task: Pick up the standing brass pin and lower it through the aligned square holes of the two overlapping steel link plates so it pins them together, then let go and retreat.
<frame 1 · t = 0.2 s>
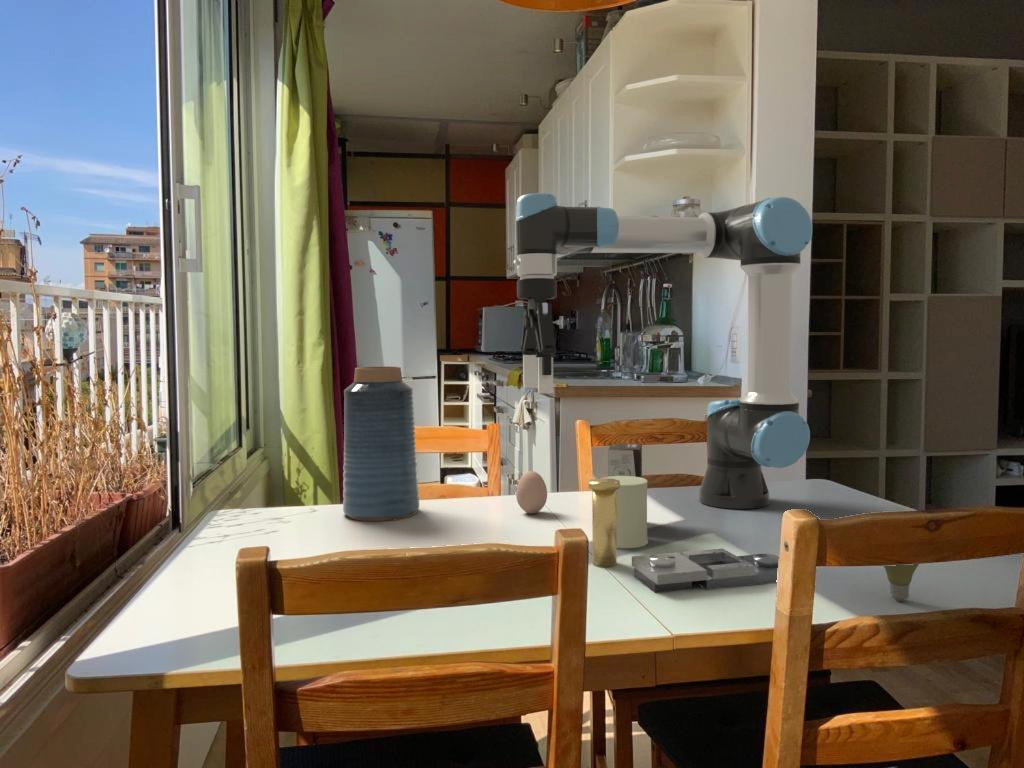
hand: (537, 390, 155), 28 cm above the table, fingers open, 13 cm apart
coffee box: (625, 526, 162), on the table
pin: (604, 563, 137), on the table
vase: (381, 514, 176), on the table
egg: (531, 514, 174), on the table
light bulb: (898, 601, 117), on the table
can: (622, 543, 150), on the table
link plates: (714, 577, 129), on the table
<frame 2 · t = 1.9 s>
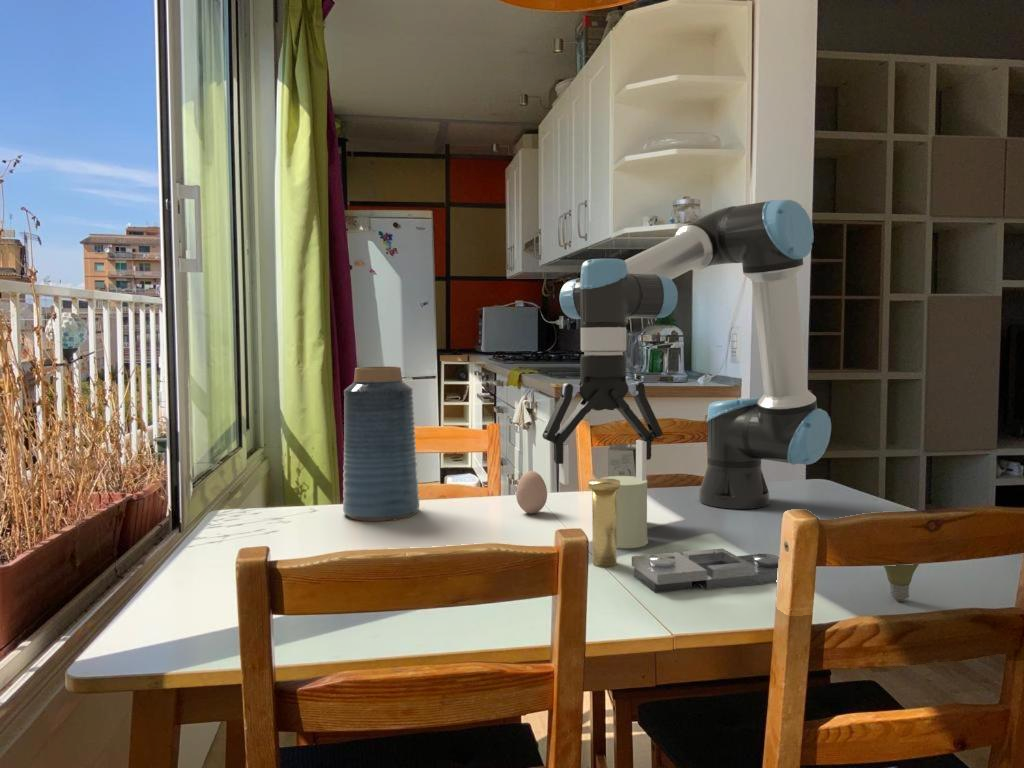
hand: (602, 481, 136), 14 cm above the table, fingers open, 13 cm apart
nothing on the table moved.
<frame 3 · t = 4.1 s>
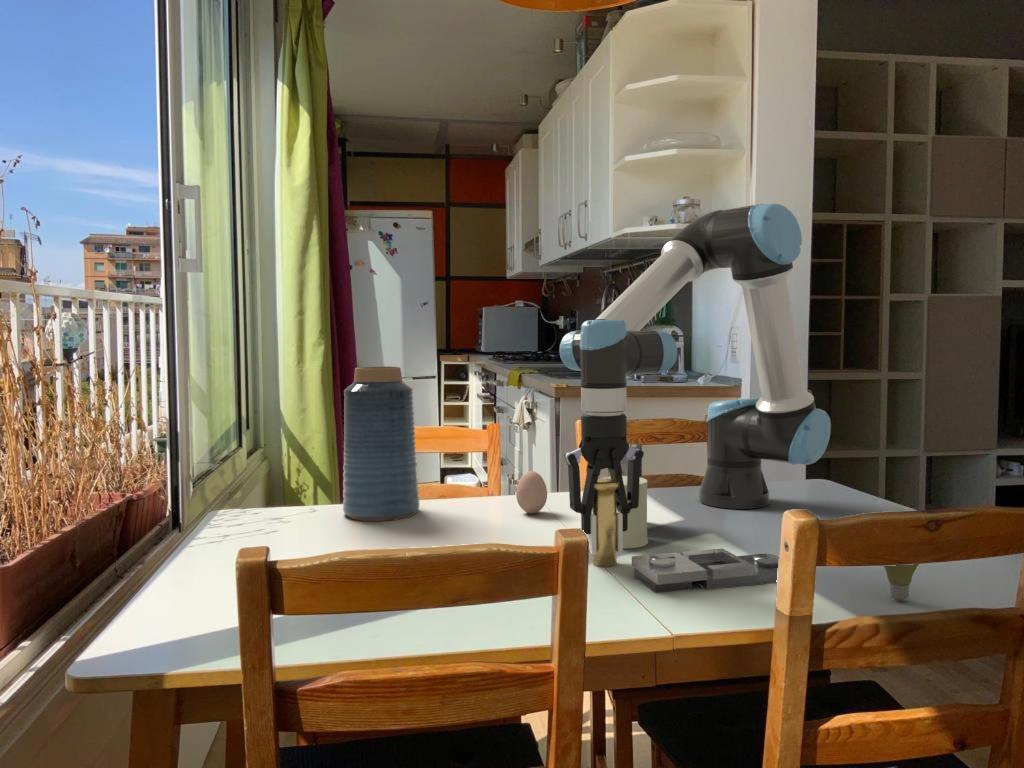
hand: (604, 551, 137), 2 cm above the table, fingers closed on pin, 4 cm apart
pin: (604, 563, 137), on the table, touching gripper
everything else where it was.
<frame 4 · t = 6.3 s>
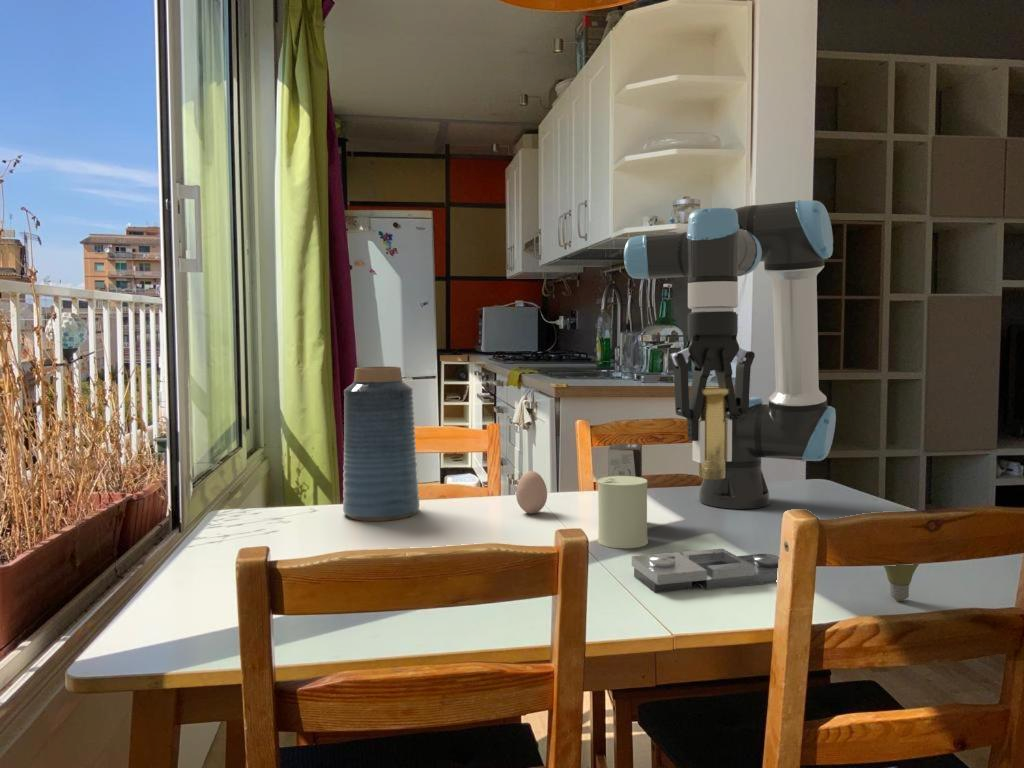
hand: (712, 460, 127), 19 cm above the table, fingers closed on pin, 4 cm apart
pin: (712, 476, 128), point 16 cm above the table, touching gripper
everything else where it was.
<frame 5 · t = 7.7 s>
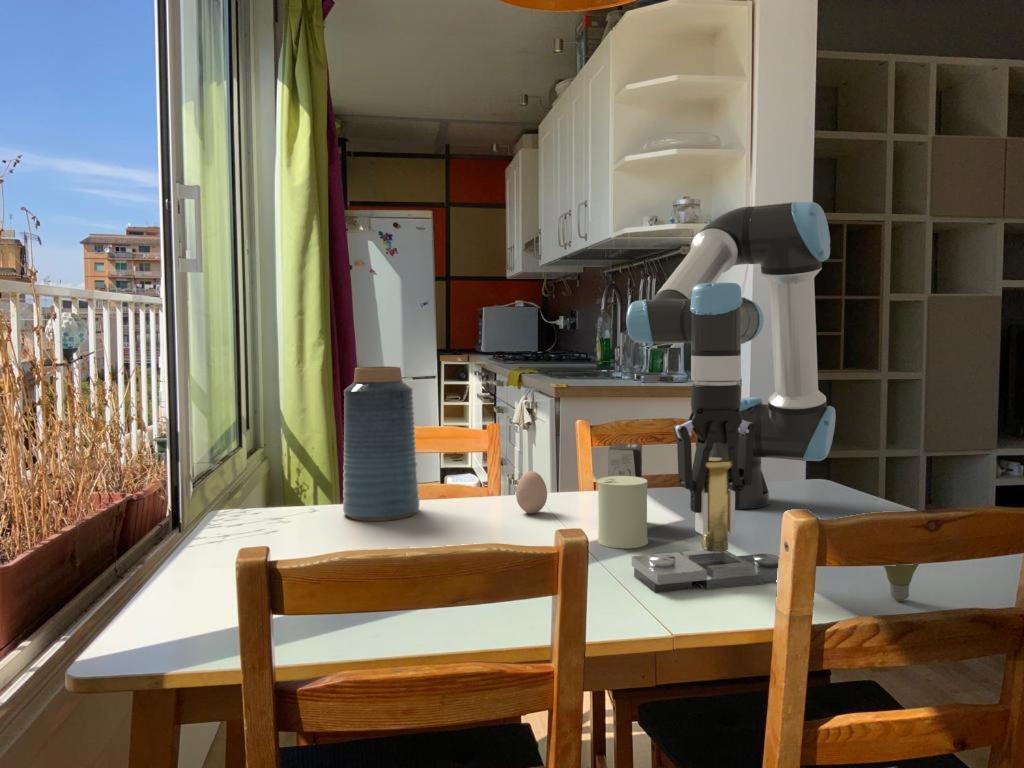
hand: (714, 531, 128), 7 cm above the table, fingers closed on pin, 4 cm apart
pin: (714, 548, 128), point 5 cm above the table, touching gripper
everything else where it was.
when the fingers open (4 cm above the table, at t = 8.9 s): pin stays where it is, resting in link plates.
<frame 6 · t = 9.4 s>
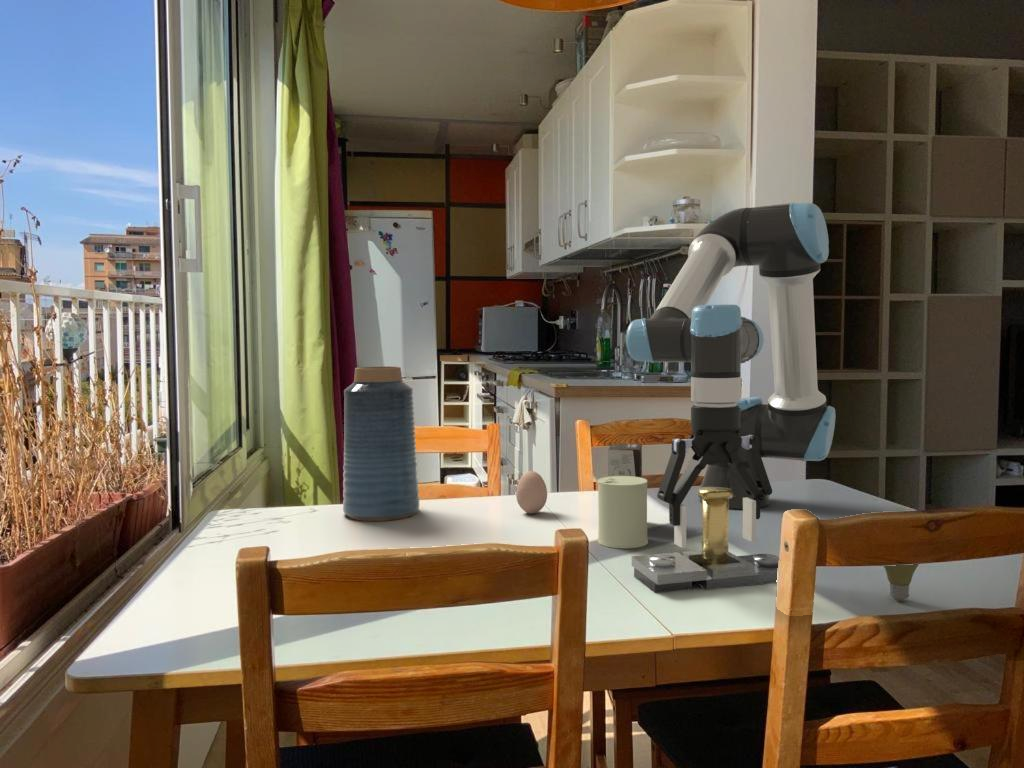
hand: (715, 542, 128), 6 cm above the table, fingers open, 11 cm apart
pin: (715, 577, 129), resting in link plates
everything else where it was.
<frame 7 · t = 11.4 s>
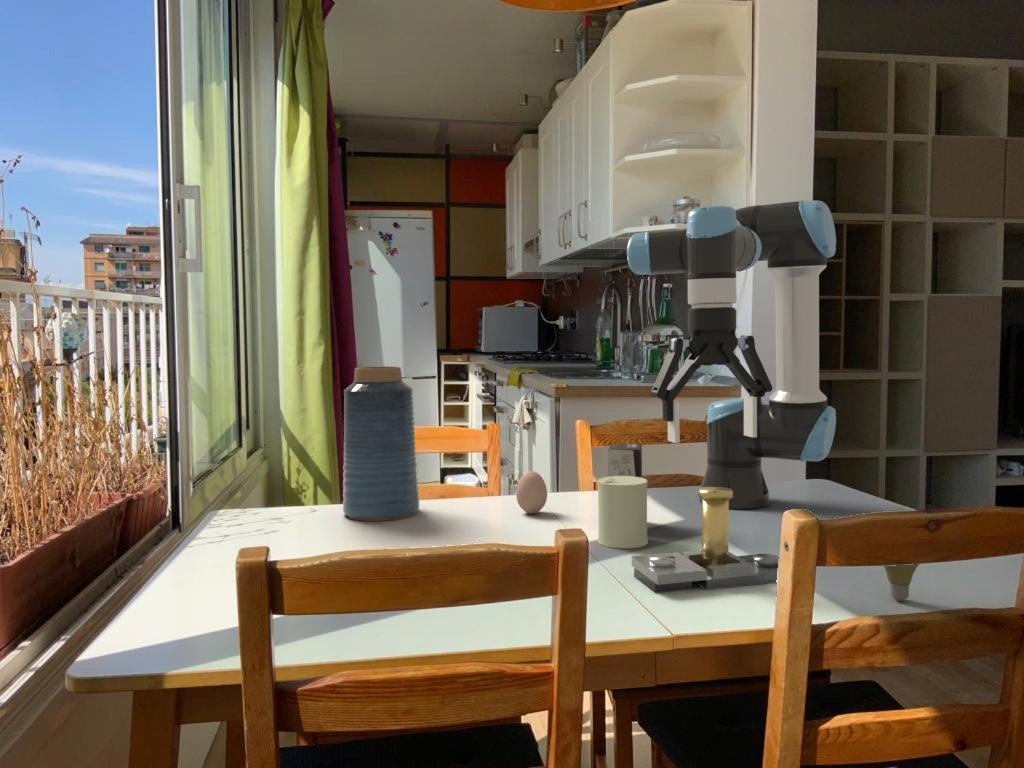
hand: (712, 439, 131), 21 cm above the table, fingers open, 13 cm apart
nothing on the table moved.
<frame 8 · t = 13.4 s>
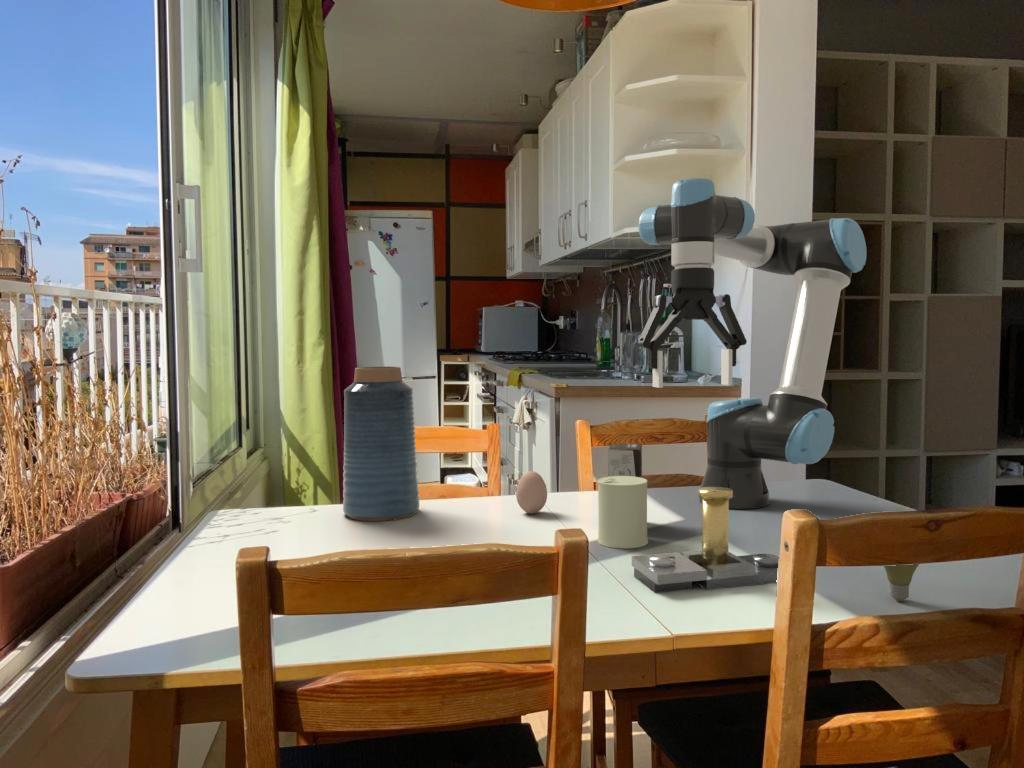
hand: (692, 386, 147), 29 cm above the table, fingers open, 13 cm apart
nothing on the table moved.
at the end: pin 0.0 cm off-centre on the link plates, point 0.0 cm above the link plates's base; pin tilted 0°; the gripper is holding nothing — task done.
